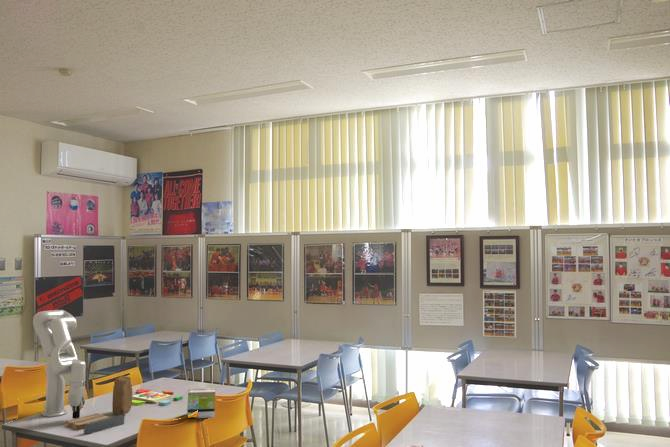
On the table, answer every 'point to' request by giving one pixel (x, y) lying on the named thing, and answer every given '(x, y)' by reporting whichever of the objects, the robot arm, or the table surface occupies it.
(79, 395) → the robot arm
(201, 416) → the tea box
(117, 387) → the block
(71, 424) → the walnut slab
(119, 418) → the block
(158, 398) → the pattern blocks set
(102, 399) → the table surface
